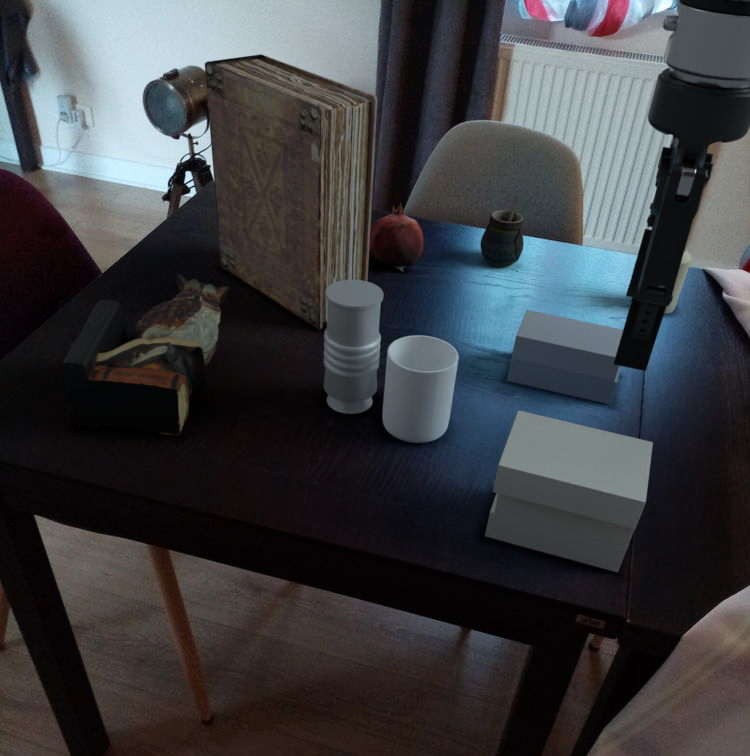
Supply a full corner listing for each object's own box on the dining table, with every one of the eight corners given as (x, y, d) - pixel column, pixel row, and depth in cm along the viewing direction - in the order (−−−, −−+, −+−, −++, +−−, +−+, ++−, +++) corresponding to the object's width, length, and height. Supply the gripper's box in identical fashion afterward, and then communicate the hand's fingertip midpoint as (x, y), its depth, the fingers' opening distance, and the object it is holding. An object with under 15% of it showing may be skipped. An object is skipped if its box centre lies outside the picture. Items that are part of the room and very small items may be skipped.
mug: (389, 387, 103) (395, 316, 97) (451, 394, 103) (462, 324, 96) (377, 440, 94) (383, 367, 88) (445, 449, 94) (456, 376, 87)
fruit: (405, 281, 127) (410, 221, 120) (356, 265, 130) (359, 205, 124) (432, 262, 133) (439, 203, 126) (385, 247, 136) (389, 189, 130)
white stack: (624, 523, 86) (643, 474, 81) (617, 572, 80) (636, 523, 75) (500, 490, 89) (511, 441, 84) (484, 536, 83) (495, 486, 78)
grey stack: (616, 374, 109) (630, 330, 104) (610, 405, 103) (624, 359, 99) (518, 353, 112) (527, 308, 107) (506, 381, 106) (516, 335, 102)
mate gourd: (474, 266, 133) (482, 207, 126) (482, 249, 138) (491, 192, 131) (516, 274, 131) (527, 215, 125) (523, 256, 137) (534, 199, 130)
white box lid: (643, 468, 82) (653, 442, 80) (635, 529, 75) (645, 502, 72) (512, 436, 85) (518, 410, 83) (492, 492, 78) (498, 464, 75)
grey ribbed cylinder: (339, 380, 104) (342, 274, 94) (385, 395, 102) (394, 289, 92) (312, 404, 99) (313, 296, 89) (360, 422, 97) (366, 312, 87)
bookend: (55, 368, 86) (116, 250, 103) (80, 440, 94) (133, 319, 111) (188, 374, 86) (227, 255, 103) (202, 446, 94) (236, 324, 111)
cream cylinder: (649, 315, 123) (669, 254, 116) (633, 299, 127) (651, 239, 120) (680, 313, 124) (701, 253, 118) (663, 297, 128) (682, 238, 121)
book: (366, 312, 118) (378, 96, 98) (319, 331, 113) (322, 107, 93) (266, 253, 132) (259, 52, 112) (220, 267, 127) (204, 60, 107)
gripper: (667, 35, 68) (607, 266, 82) (650, 110, 50) (577, 390, 64) (758, 45, 66) (681, 280, 80) (775, 127, 48) (672, 410, 62)
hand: (635, 329), depth 72 cm, fingers open, 13 cm apart
